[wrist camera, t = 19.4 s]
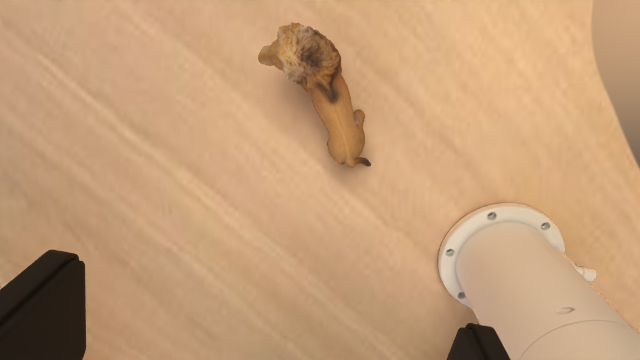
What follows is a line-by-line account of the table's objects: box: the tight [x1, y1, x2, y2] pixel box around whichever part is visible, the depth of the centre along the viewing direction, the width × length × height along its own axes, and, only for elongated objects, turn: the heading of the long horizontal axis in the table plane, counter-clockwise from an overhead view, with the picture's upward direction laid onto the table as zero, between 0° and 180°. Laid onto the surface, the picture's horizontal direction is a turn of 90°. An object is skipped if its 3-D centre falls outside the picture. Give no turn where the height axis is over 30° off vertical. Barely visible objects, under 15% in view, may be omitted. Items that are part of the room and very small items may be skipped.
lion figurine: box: [258, 23, 371, 168], centre depth 34 cm, size 15×5×9 cm, turn 31°
